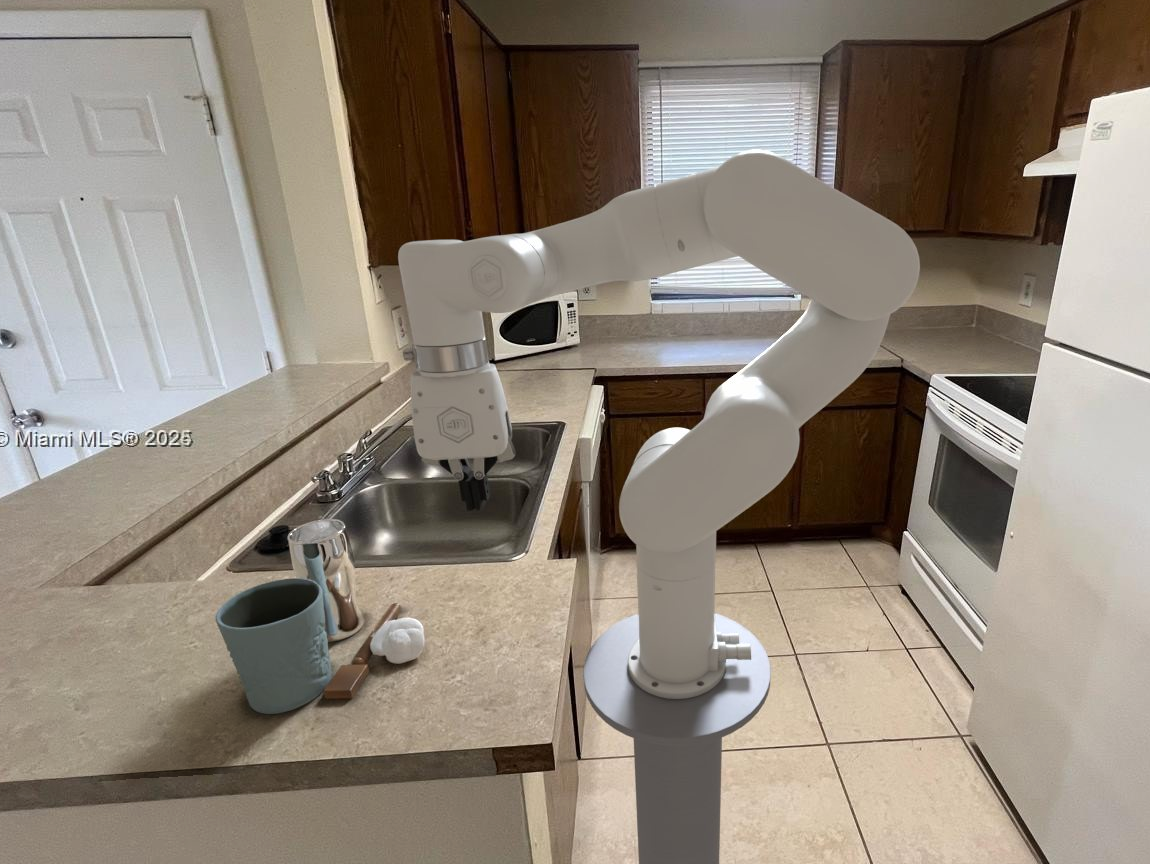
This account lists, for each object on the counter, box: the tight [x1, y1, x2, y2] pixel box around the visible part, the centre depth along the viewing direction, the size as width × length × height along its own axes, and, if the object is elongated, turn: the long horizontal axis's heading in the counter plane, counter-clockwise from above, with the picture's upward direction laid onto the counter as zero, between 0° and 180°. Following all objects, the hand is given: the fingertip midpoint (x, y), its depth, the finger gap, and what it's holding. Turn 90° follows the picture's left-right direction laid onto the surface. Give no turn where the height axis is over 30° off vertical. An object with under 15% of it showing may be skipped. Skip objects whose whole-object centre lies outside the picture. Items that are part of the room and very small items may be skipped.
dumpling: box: [370, 617, 426, 665], centre depth 78 cm, size 7×5×4 cm
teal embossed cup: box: [215, 577, 332, 715], centre depth 71 cm, size 10×10×12 cm
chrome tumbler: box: [287, 518, 365, 643], centre depth 81 cm, size 7×7×15 cm
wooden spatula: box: [322, 602, 402, 700], centre depth 79 cm, size 17×3×2 cm, turn 1°
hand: (477, 505), depth 74 cm, fingers closed
